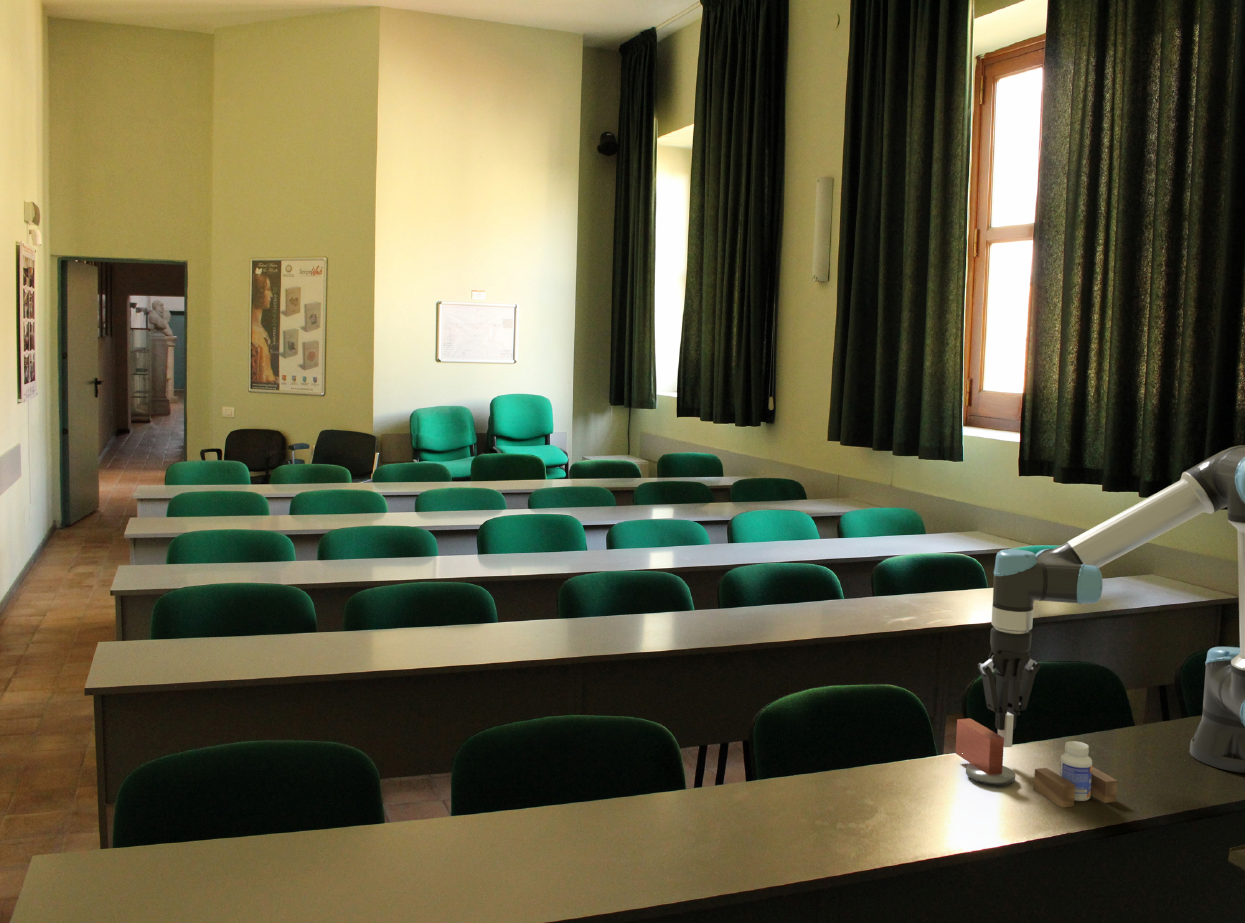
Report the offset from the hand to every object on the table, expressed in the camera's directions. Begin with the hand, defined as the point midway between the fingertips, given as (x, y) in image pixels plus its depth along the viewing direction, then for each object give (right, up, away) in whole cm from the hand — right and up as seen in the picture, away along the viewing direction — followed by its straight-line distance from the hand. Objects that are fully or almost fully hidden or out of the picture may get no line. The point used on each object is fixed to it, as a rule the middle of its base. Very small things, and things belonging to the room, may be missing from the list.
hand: (1004, 744), depth 205 cm
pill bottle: (+8, -6, -14) cm, 17 cm away
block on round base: (-6, -4, -5) cm, 9 cm away
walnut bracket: (+8, -6, -14) cm, 17 cm away
